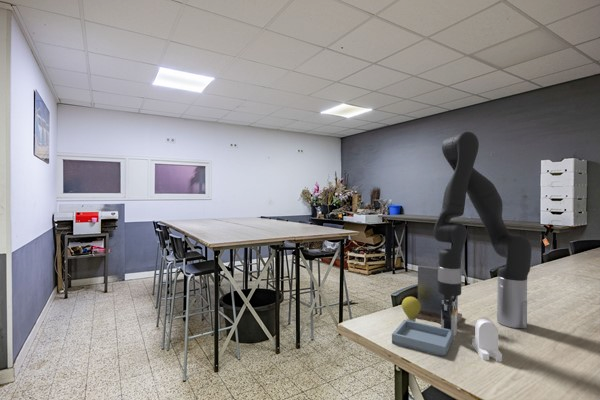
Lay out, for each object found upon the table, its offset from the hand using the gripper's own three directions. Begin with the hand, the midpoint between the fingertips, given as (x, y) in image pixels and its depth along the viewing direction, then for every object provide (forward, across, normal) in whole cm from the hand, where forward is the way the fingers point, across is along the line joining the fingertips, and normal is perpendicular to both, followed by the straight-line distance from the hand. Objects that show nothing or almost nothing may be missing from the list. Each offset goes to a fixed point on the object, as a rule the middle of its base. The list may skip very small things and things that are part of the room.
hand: (448, 328), depth 112 cm
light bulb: (+2, 0, +13) cm, 13 cm away
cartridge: (+1, 0, 0) cm, 1 cm away
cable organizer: (+2, -9, -12) cm, 15 cm away
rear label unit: (+1, +12, +6) cm, 14 cm away
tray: (+1, -12, +6) cm, 13 cm away
